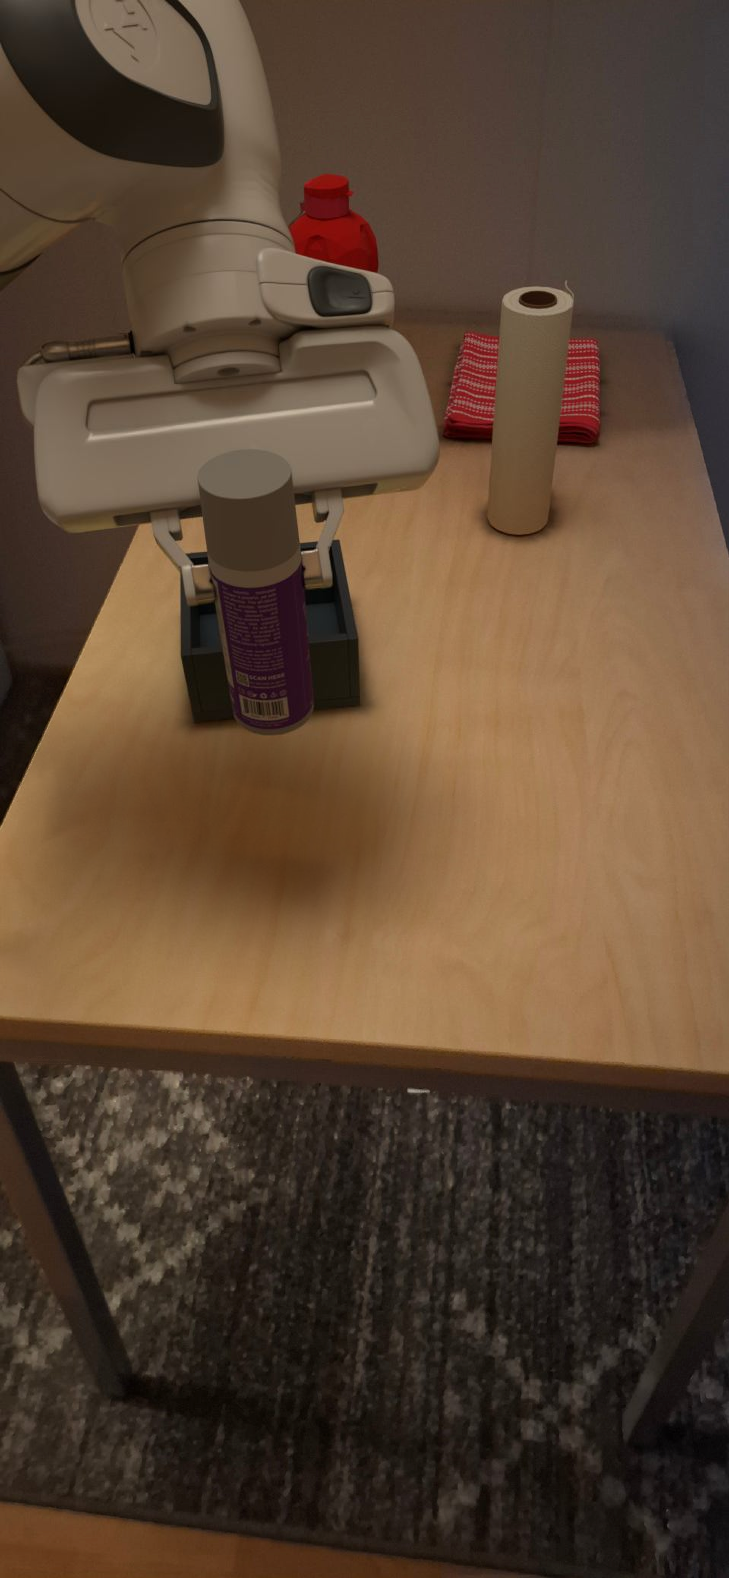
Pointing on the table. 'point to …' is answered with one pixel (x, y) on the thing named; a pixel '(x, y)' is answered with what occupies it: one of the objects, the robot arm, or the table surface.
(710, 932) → the table surface
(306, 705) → the container
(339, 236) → the water bottle
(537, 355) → the paper towel roll
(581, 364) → the dish towel
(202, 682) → the tub
